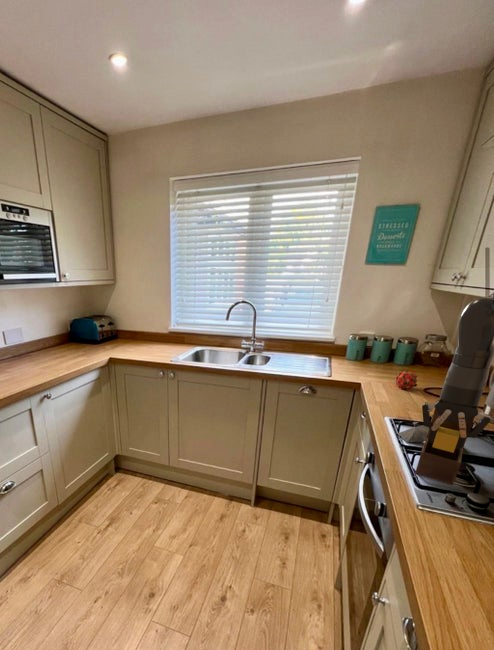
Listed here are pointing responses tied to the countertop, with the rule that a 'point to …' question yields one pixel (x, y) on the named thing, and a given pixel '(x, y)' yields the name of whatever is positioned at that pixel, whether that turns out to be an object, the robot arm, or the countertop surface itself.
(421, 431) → the paper boat
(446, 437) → the block
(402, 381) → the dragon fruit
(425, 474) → the chest
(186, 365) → the countertop surface
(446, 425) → the lid
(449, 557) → the countertop surface
